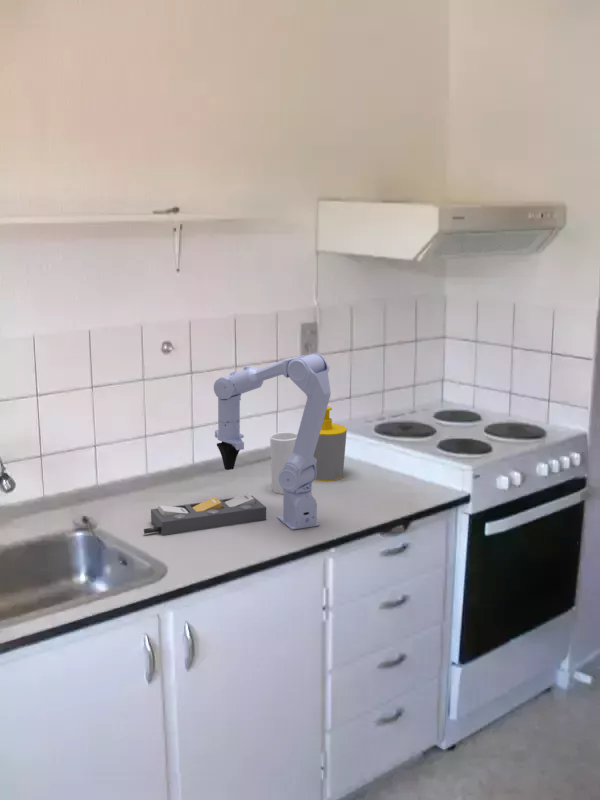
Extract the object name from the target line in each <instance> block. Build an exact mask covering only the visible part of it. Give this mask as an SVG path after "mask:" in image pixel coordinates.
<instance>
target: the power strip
mask: <svg viewBox="0 0 600 800" xmlns="http://www.w3.org/2000/svg"><path fill="white" fill-rule="evenodd" d="M250 496H251V497H253V498H254V501H255V504H247V505H240V506H233V507H229V506H228V505H227V504H225V503H224V502H226V501H228V500H231V499H233V498H234V497H231V498H225V499H218V500H219V501H220V502H221V503H222V506H223V507H222V508H219V509H211V510H205V511H198V512H196V511H195V510H194V509H193V508H192V507H194V506H196V505H198V504H200V503H202V502H203V501H201V502H194V503H187V504H182V505H181V504H180V505H179V504H178V505H173V506H172V505H171V507H181V508H185V509H186V510H187V511H188V512H189V513H184V514H176V515H170V516H162V515H161V514H160V513H159V512H158V507H157V508H152V509H150V522H151V524H152V525H153V526H154V527H148V528H143V533H144V535H145V534H153V533H159V534H161V536H167V535H168V536H169V535H174V534H181V533H183V534H184V533H188V532H195V531H202V530H208V529H215V528H221V527H228V526H233V525H235V526H236V525H242V524H247V523H254V522H261V521H267V506H266V505H265V504H263V503H262V502H261V501H259V499H257V498H255V496H253V495H250Z"/></svg>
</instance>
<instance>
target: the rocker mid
mask: <svg viewBox="0 0 600 800" xmlns="http://www.w3.org/2000/svg"><path fill="white" fill-rule="evenodd" d="M219 500H220V499H218V497H216V496H213V497H211V498H209V499H207V500H205V501H201V502H202V503H201V502H199V503H200V504H198V505H196V506H194V507H192V508H193V509H194V510H195V511H196V512H198V511H205V510H211V509H219V508H222V507H223V506H222V503H221V502H220V501H219Z"/></svg>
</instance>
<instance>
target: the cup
mask: <svg viewBox="0 0 600 800" xmlns="http://www.w3.org/2000/svg"><path fill="white" fill-rule="evenodd" d="M297 434H298V432H297V433H296V432H292V431H281V432H280V431H279V432H275V433H272V434H271V435H270V436H269V437H270V441H269V442H270V462H271V463H270V466H271V467H270V468H271V470H270V471H271V489H272V492H274V493H276V494H280V495H284V491H283V488H282V487H281V485H280V483H279V480H278V476H279V473H280V471H281V470H282V469H283V468H284V466H285V463H286V461H287V459H288V458H289V457H290V456H291V454H292V453H293V449H294V446H295V442H296V438H297Z"/></svg>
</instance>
